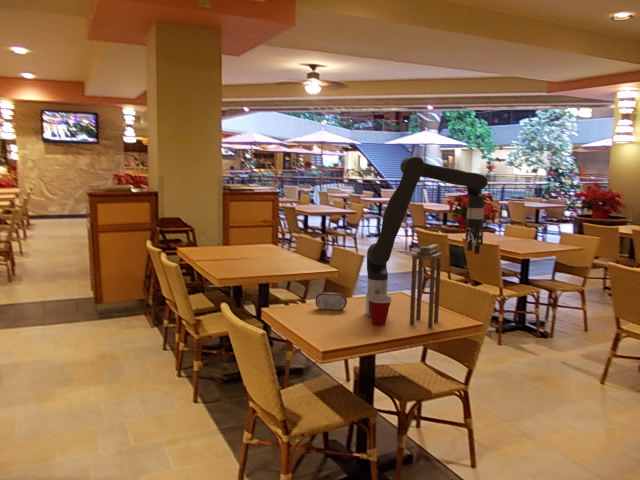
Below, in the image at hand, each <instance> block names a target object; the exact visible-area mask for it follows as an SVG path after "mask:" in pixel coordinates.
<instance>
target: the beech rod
mask: <svg viewBox="0 0 640 480" xmlns="http://www.w3.org/2000/svg"><path fill="white" fill-rule="evenodd" d="M439 247H440V246H439V244H436V243H433V244H430V245H428V246H421V247H420V250H419V251H420V255H428V253H429V252H431V251H433V250H437V251H439V250H440V249H439Z"/></svg>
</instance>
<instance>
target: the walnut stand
mask: <svg viewBox="0 0 640 480" xmlns="http://www.w3.org/2000/svg"><path fill="white" fill-rule="evenodd" d="M442 255H443V253H442V252H438V250H433V251H431V252H429V253H428V255H420V250H418V251H416V252H414V253H412V254H411V260H412V261H411V285H410V286H411V287H410V310H409V314H410V315H409V324H410V325H415V319H416V320H420V319H421V315H422V313H421V312H422V288H423V267H424V265H423V264H424V263H423V262H424V261H430V275H429V295H428V296H429V297H428V299H429V300H428V319H427V320H428V322H427V328H432V327H433V322H434V323H438V322H439V310H440V294H441V293H440V292H441V291H440V290H441V269H442V268H441V267H442V266H441V265H442V257H443V256H442ZM417 262H418V264H417ZM417 265H418V266H417ZM417 267H418V268H417ZM417 270H418V271H417ZM416 283H417V284H416ZM416 288H417V291H416ZM416 294H417V295H416ZM415 309H416V310H415ZM415 311H416V314H415ZM415 315H416V316H415Z"/></svg>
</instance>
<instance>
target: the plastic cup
mask: <svg viewBox="0 0 640 480" xmlns="http://www.w3.org/2000/svg"><path fill="white" fill-rule="evenodd" d="M367 298H368V300H369V305H370V313H371V319H370V320H371V322H372V325H374V326H378V327H379V326H385V325H386V323H387V318H388V314H389V310H390V305H391V303H392V300H393V298H392V297H391V296H390V295H388V294H387V295H381V294H374V295H369V296H368V297H367Z"/></svg>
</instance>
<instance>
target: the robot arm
mask: <svg viewBox="0 0 640 480" xmlns="http://www.w3.org/2000/svg"><path fill="white" fill-rule="evenodd" d="M399 167H400V171H401V173H402V177H401V179H400V182H399V184H398V186H397V187H396V189H395V190H394V192H393V193H392V195H391V196H390V198H389V200H388V202H387V204H386V207H385V210H384V212H383V216H382V221H381V228H380V234H379V235H378V238H377V240H376V242H375V243H372V244H371V245H369V247H368V249H367V252H366V272H367V285H366V287H367V289H366V294H365V314H366V316H367V317H369V318H370V317H371V313H370V305H369V300H368V298H367V297H368V296H369V295H374V294H381V295H387V296H388V286H389V285H388V284H389V283H388V282H389V280H388V279H389V278H388V277H389V273H388V268H387V263H388V262H389V261H390V258H391V254H392V251H393V247H394V244H395V240H396V238H397V236H398V233H399V231H400V229H401V227H402V224H403V222H404V220H405V217H406V214H407V212H408V209H409V206H410V203H411V200H412V197H413V194H414V192H415V189H416V187H417V185H418V183H419V181H420V179H421V178H427V179H432V180H434V181H438V182H439V181H440V182H444V183H446V184H451V185H454V186H460V187H461V186H462V187H466V192H467V196H468V197H467V198H468V199H467V200H468V201H467V211H466V223H465V224H466V225H465V227H466V228H465V241H466V243H467V246H466V247H467V248H466V251H467V252H471V251H473V250H474V252H473V253H474V254H475V255H479V254H480V253H481V252H480V250H481V246H483V241H484V231H480V230H481V229H483V228H484V217H485V212H484V211H485V197H484V195H482V190H483V189H485V188H486V187H487V186H488V183H489V182H488V178H487V177H486V176H485V175H484V174H481V173H475V172H470V171H466V170H462V169H459V168H454V167H450V166H449V167H448V166H440V165H436V164H432V163H431V164H430V163H427V162H425V161H424V160H423V158H422V157H419V156H416V155H414V156H407V157H405V158H404V159H403V160H402V161H401V162H400V166H399ZM473 244H474V249H473Z"/></svg>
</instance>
